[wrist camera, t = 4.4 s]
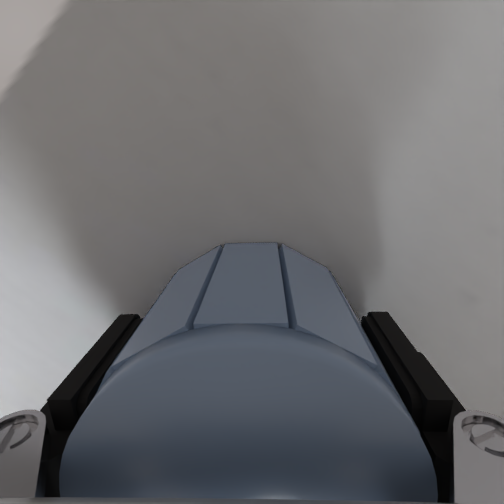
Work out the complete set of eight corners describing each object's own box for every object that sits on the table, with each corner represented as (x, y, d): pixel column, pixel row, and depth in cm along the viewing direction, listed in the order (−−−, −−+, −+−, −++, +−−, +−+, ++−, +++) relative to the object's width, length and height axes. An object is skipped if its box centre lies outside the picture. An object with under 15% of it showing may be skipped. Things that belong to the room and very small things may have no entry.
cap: (358, 240, 11) (468, 347, 5) (347, 415, 13) (413, 630, 7) (146, 245, 11) (19, 350, 5) (168, 414, 13) (94, 621, 7)
